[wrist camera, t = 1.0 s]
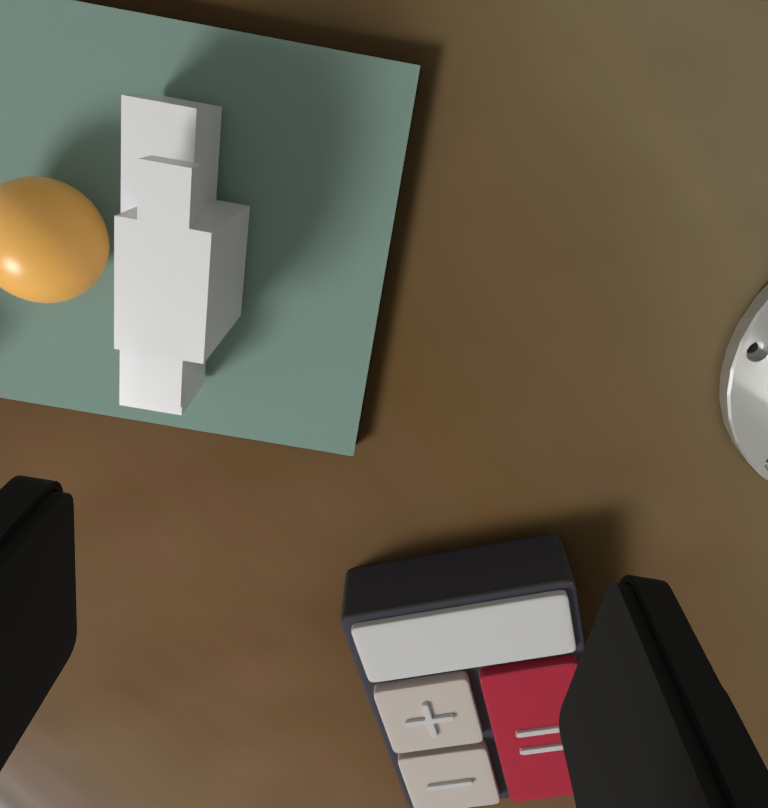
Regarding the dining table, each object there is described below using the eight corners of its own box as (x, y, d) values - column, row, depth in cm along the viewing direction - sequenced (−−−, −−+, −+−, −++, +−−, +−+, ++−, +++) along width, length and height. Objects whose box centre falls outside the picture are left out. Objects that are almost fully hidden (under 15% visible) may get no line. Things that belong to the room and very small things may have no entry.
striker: (257, 113, 25) (218, 118, 20) (234, 388, 29) (198, 449, 24) (155, 94, 25) (90, 94, 20) (148, 373, 29) (94, 432, 24)
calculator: (409, 825, 38) (336, 630, 31) (408, 753, 42) (343, 567, 35) (610, 800, 36) (579, 591, 30) (590, 728, 40) (559, 529, 33)
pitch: (420, 66, 25) (420, 65, 24) (355, 445, 32) (353, 456, 31) (-248, -60, 24) (-273, -65, 23) (-170, 358, 31) (-188, 366, 30)
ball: (128, 181, 26) (76, 198, 22) (127, 294, 28) (78, 328, 24) (10, 160, 26) (-65, 173, 22) (17, 275, 28) (-51, 306, 24)
